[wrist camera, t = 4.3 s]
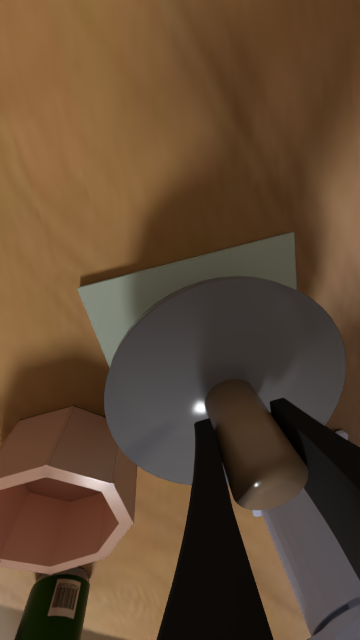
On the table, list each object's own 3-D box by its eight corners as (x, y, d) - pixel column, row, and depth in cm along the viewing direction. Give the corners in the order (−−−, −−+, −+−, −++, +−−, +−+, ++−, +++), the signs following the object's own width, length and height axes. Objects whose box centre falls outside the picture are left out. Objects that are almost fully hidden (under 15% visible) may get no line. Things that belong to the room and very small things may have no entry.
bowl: (110, 394, 16) (96, 449, 12) (147, 480, 20) (146, 546, 15) (-20, 430, 16) (-81, 499, 12) (40, 511, 19) (9, 587, 15)
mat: (289, 232, 14) (294, 232, 13) (298, 399, 19) (302, 403, 18) (79, 286, 13) (77, 288, 13) (142, 443, 18) (142, 448, 18)
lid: (336, 244, 10) (489, 253, 5) (332, 440, 14) (415, 533, 10) (65, 316, 10) (-9, 389, 5) (147, 494, 14) (145, 615, 10)
